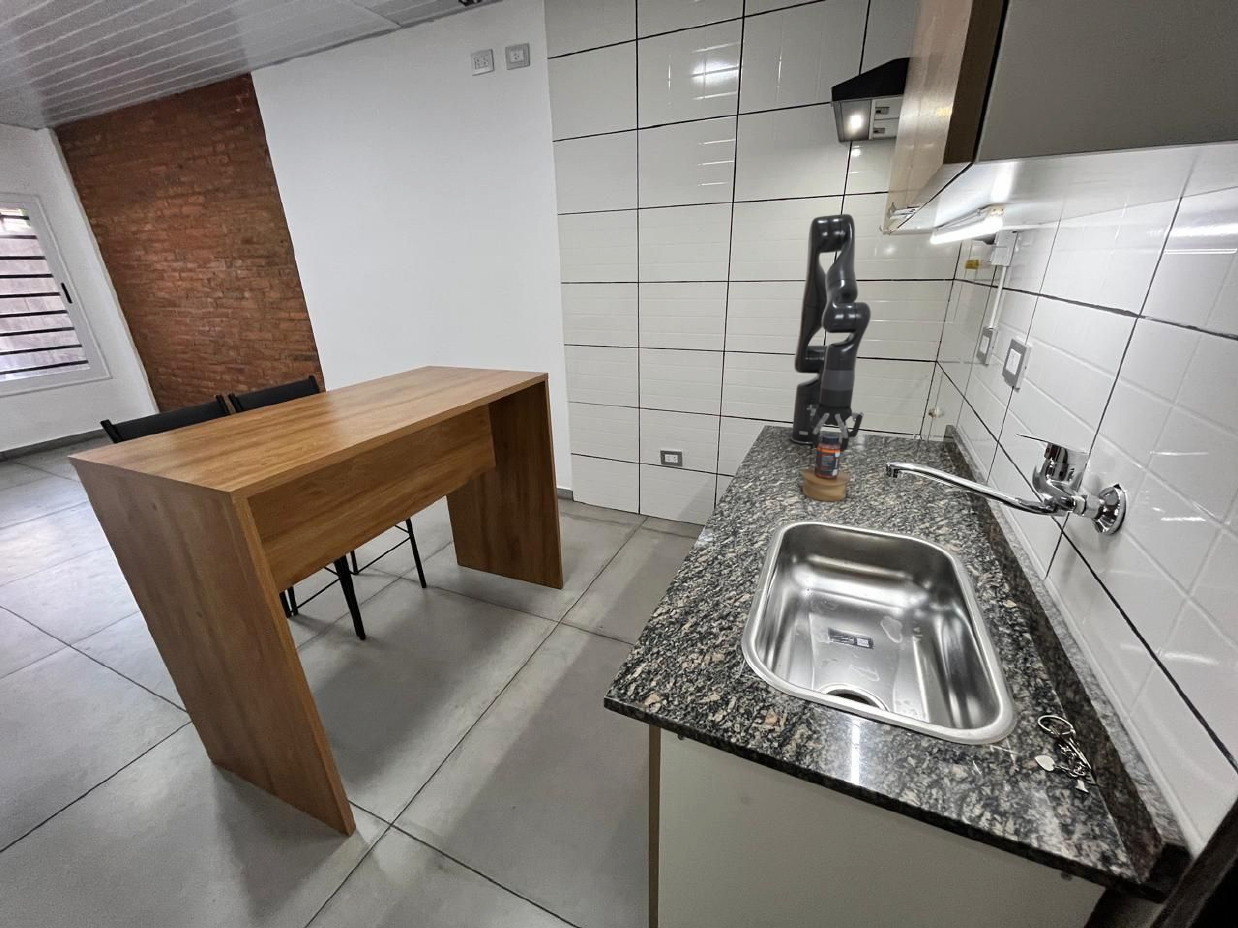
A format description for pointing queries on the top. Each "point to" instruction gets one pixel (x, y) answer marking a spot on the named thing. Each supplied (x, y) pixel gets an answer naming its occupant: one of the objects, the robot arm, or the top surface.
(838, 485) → the stand
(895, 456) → the top surface
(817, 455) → the supplement bottle
